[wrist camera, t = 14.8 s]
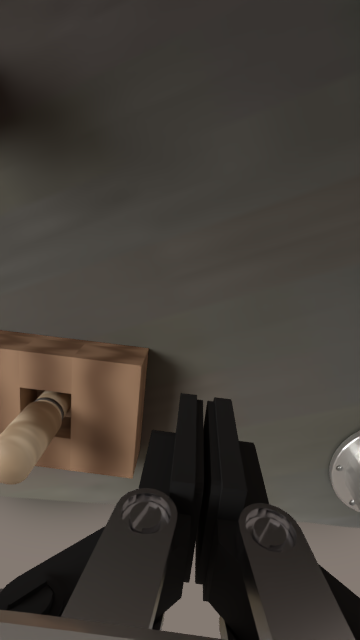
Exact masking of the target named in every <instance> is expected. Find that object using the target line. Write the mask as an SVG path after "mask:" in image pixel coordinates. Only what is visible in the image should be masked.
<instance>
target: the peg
mask: <svg viewBox="0 0 360 640" xmlns="http://www.w3.org/2000/svg"><path fill="white" fill-rule="evenodd" d="M70 408H71V394H69V393H61V392H53V391H44V392H43V393H42V394H41V395H40V396H39V397H38V398H37V400H35V401H34V402H32V403H30V404H28V405H27V406H26V407H25V408H24V409H23V410H22V412H21V413H20V414H19V415H18V416H17V417H16V418H15V419H14V420H13V421H12V422H11V423H10V424H9V425H8V427H7V428H6V429H5V430H4V431H3V432H2V433H1V434H0V483H4V484H17V483H20V482H22V481H23V480H25V479H26V478H27V476H28V475H29V473H30V472H31V470H32V469H33V467H34V466H35V464H36V463H37V461H38V460H39V459H40V457H41V456H42V454H43V453H44V451H45V450H46V448H47V447H48V445H49V444H50V442H51V441H52V439H53V438H54V436H55V435H56V433H57V432H58V430H59V429H60V427H61V424H62V420H63V418H64V417H65V415H66V414H67V412H68V411H69V409H70Z"/></svg>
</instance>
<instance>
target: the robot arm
mask: <svg viewBox="0 0 360 640" xmlns="http://www.w3.org/2000/svg"><path fill="white" fill-rule="evenodd" d="M329 477H330V482H331V484H332V487H333V489H334V491H335V493H336V494H337V496H338V497H339V498H340V500H341V501H342V502H343V503H344V504H346V505H347V506H348V507H350V508H352V509H354V510H356V511H358V512H360V431H358V432H356V433H354V434H353V435H351V436H350V437H348V438H347V439H346V440H345V441H343V442H342V444H341V445H340V446H339V447H338V448H337V450H336V451H335V453H334V455H333V456H332V459H331V462H330V467H329ZM195 542H196V563H195V566H196V567H195V570H196V571H195V582H196V584H203V601H208V602H209V603H210V604H211V605H212V606H213V608H214V609H215V610H216V611H217V612H218V613H219V615H220V617H219V630H220V635H221V639H217V638H210V637H202V636H196V635H188V634H181V633H174V632H167V631H161V630H162V626H163V621H164V614H165V611H167V609H169V608H170V607H171V606H172V605H173V604H174V603H176V602H177V601H178V600H179V599H180V598H181V596H182V589H183V582H189V580H190V574H191V567H192V561H193V554H194V548H195ZM0 640H360V598H359V597H358V596H356V595H355V594H354V593H353V592H351V591H350V590H349V589H348V588H347V587H346V586H344V585H343V584H342V583H341V582H339V581H338V580H337V579H336V578H335V577H333V576H332V575H331V574H330V573H329V572H327V571H326V570H325V569H324V568H322V567H321V566H320V565H319V564H318V563H317V561H316V559H315V557H314V554H313V552H312V550H311V548H310V546H309V544H308V542H307V540H306V538H305V536H304V534H303V532H302V530H301V528H300V527H299V525H298V524H297V522H296V521H295V520H294V519H293V518H292V517H291V516H290V515H289V514H288V513H287V512H285V511H283V510H282V509H280V508H278V507H276V506H273V505H270V504H269V502H268V498H267V494H266V489H265V485H264V481H263V477H262V473H261V469H260V465H259V461H258V457H257V453H256V449H255V445H254V443H250V442H243V441H238V435H237V429H236V423H235V418H234V412H233V406H232V401H231V399H223V398H214V401H213V402H212V401H208V402H207V407H206V414H205V421H204V428H203V400H197V395H191V394H183V393H181V395H180V403H179V412H178V420H177V428H176V433H172V432H164V431H156V430H152V433H151V437H150V442H149V446H148V450H147V455H146V459H145V463H144V468H143V472H142V476H141V481H140V485H139V489H135V490H133V491H130V492H128V493H127V494H125V495H124V496H123V497H121V499H120V500H119V501H118V503H117V504H116V506H115V508H114V510H113V512H112V514H111V516H110V518H109V520H108V522H107V524H106V526H105V527H103V528H101V529H100V530H98V531H96V532H94V533H93V534H91V535H89V536H87V537H86V538H84V539H82V540H81V541H79V542H77V543H76V544H74V545H72V546H70V547H69V548H67V549H65V550H63V551H62V552H60V553H58V554H57V555H55V556H53V557H51V558H49V559H48V560H46V561H44V562H43V563H41V564H40V565H37V566H36V567H34V568H32V569H31V570H29V571H27V572H25V573H24V574H22V575H21V576H18V577H17V578H16V579H14V580H13V581H12V582H10V583H9V584H8V585H6V587H5V588H4V589H0Z"/></svg>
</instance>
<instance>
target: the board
mask: <svg viewBox="0 0 360 640" xmlns="http://www.w3.org/2000/svg"><path fill="white" fill-rule="evenodd" d="M148 350H149V348H142V347H134V346H125V345H117V344H109V343H101V342H92V341H84V340H76V339H68V338H59V337H51V336H43V335H35V334H26V333H18V332H10V331H2V330H0V434H1V433H2V432H3V431H4V430H5V429H6V428H7V427H8V425H9V424H10V423H11V422H12V421H13V420H14V419H15V418H16V417H17V416H18V415H19V414H20V413H21V412H22V410H23V409H24V408H25V407H26V406H27V405H28V404H30V403H32V402H34V401H35V400H37V398H38V397H39V396H40V395H41V394H42V393H43V392H44V391H53V392H61V393H69V394H71V408H70V409H69V411H68V412H67V414H66V415H65V417H64V418H63V420H62V424H61V427H60V429H59V430H58V432H57V433H56V435H55V436H54V438H53V439H52V441H51V442H50V444H49V445H48V447H47V448H46V450H45V451H44V453H43V454H42V456H41V457H40V459H39V460H38V461H37V463H36V464H35V466H41V467H49V468H56V469H64V470H72V471H79V472H87V473H94V474H102V475H110V476H117V477H125V478H133V474H134V470H135V467H136V463H137V459H138V455H139V451H140V442H141V431H142V419H143V408H144V396H145V385H146V373H147V361H148Z"/></svg>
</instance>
